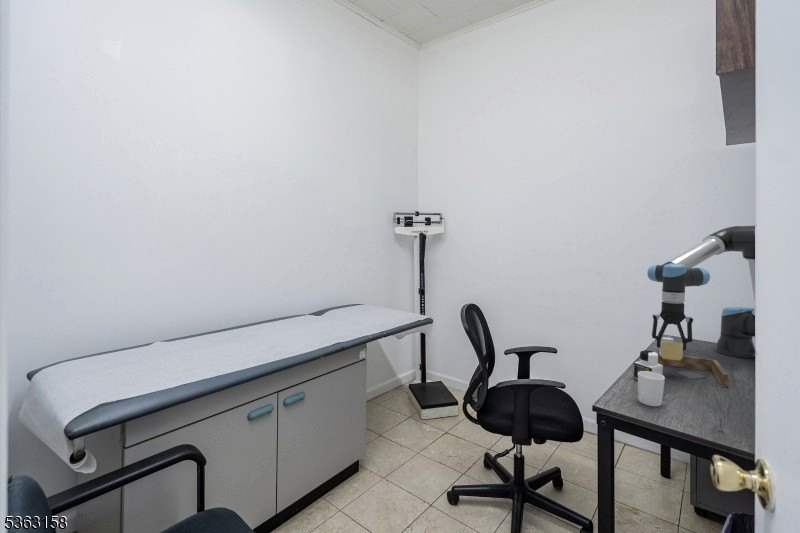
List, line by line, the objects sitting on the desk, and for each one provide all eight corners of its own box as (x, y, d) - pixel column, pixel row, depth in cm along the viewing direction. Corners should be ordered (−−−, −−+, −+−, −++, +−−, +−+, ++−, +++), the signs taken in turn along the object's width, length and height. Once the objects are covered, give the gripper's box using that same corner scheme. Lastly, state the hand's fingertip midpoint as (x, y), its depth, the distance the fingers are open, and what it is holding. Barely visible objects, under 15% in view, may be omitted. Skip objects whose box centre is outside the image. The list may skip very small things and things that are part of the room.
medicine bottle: (633, 378, 151) (634, 350, 150) (644, 375, 154) (645, 348, 152) (651, 385, 144) (652, 355, 143) (662, 382, 147) (663, 353, 146)
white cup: (654, 409, 124) (655, 381, 124) (631, 399, 132) (632, 373, 131) (668, 404, 128) (669, 377, 127) (645, 395, 135) (646, 369, 134)
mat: (703, 373, 156) (703, 372, 156) (708, 381, 147) (708, 381, 147) (673, 369, 161) (673, 368, 161) (677, 376, 152) (677, 376, 152)
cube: (678, 356, 153) (679, 342, 153) (680, 360, 148) (681, 346, 147) (660, 354, 156) (661, 340, 156) (662, 358, 151) (663, 344, 150)
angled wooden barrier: (714, 370, 158) (715, 359, 158) (727, 387, 141) (728, 375, 141) (653, 362, 169) (653, 351, 169) (658, 377, 152) (658, 365, 152)
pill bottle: (676, 361, 171) (678, 340, 170) (663, 360, 172) (664, 339, 171) (670, 357, 176) (671, 337, 175) (657, 356, 177) (658, 336, 176)
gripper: (645, 301, 151) (644, 355, 153) (704, 305, 142) (701, 362, 144) (644, 298, 158) (642, 350, 160) (700, 301, 148) (697, 357, 150)
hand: (670, 356), depth 152 cm, fingers closed on cube, 6 cm apart
